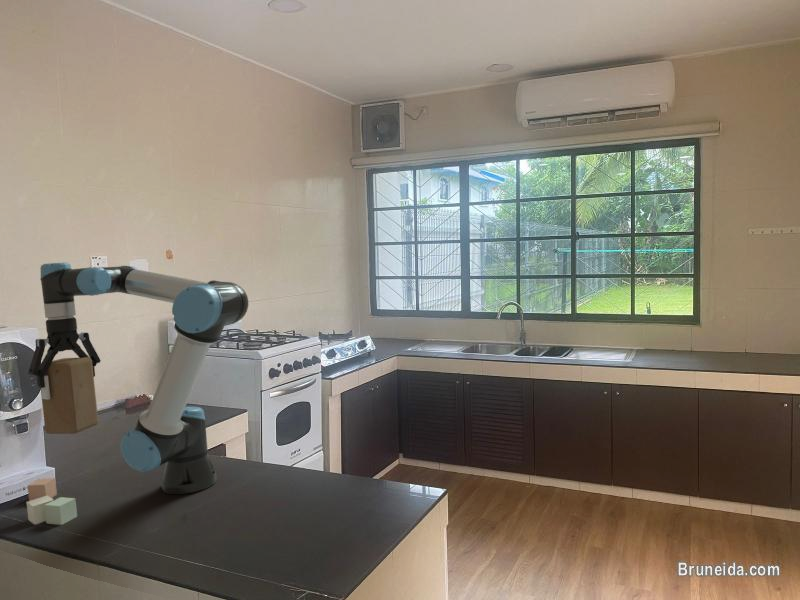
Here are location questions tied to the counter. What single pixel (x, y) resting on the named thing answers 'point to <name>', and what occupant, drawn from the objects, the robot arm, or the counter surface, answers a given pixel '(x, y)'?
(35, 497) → the cube tan
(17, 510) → the counter surface
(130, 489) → the counter surface
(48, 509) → the cube sage
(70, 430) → the wooden block
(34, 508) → the cube cream
